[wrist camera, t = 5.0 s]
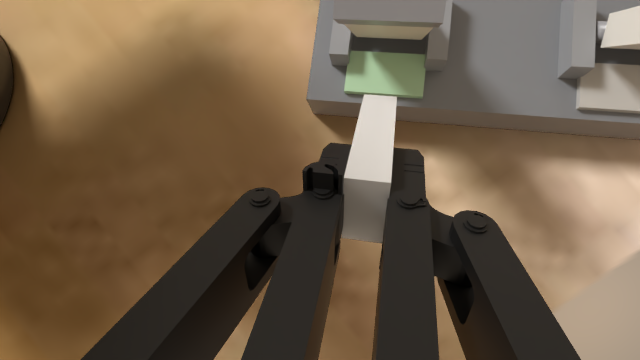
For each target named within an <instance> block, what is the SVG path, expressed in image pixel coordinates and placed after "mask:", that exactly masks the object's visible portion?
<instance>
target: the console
mask: <svg viewBox="0 0 640 360" xmlns="http://www.w3.org/2000/svg"><path fill="white" fill-rule="evenodd" d="M333 5H334V0H320V6H319V13H318V20H317V27H316V34H315V42H314V49H313V56H312V63H311V70H310V78H309V85H308V92H307V101H308V103H309V105H310V107H311V109H312V111H313V113H314V114H323V115H336V116H348V117H359V113H360V109H361V105H362V101H363V96H364V94H366V95H380V96H395V97H397V104H396V119H395V120H399V121H411V122H424V123H436V124H449V125H462V126H474V127H487V128H499V129H512V130H525V131H537V132H550V133H562V134H575V135H587V136H600V137H613V138H625V139H638V140H640V50H639V49H617V48H600V47H601V43H595V40H596V21H608V17H609V14H610V13H614V12H618V11H621V10H625V9H629V8H633V7H637V6H640V0H446V7H445V13H444V20H443V24H441V25H440V26H439V27H438V28H434V27H433V28H432V30H431V31H430V32H429V33H428V34H427V35H426V36H425V37H424V38H423V39H422V40H413V39H390V38H368V37H356V36H355V35H354V34H353V33H352V32H351V31H350V30H349V29H348V28H347V27H346V26H345V25H344V24H338V23H337V22H336V21H334V20H333Z"/></svg>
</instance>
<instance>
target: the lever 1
mask: <svg viewBox="0 0 640 360" xmlns="http://www.w3.org/2000/svg"><path fill="white" fill-rule="evenodd" d="M445 7H446V0H334V5H333V20H334V21H336V22H337V23H338V24H344V25H345V26H346V27H347V28H348V29H349V30H350V31H351V32H352V33H353V34H354V35H355V36H356V37H368V38H390V39H413V40H422V39H423V38H424V37H425V36H426V35H427V34H428V33H429V32H430V31H431V30H432V28H433V27H434V28H438V27H439V26H440V25H441V24H443V20H444V13H445Z"/></svg>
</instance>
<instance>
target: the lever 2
mask: <svg viewBox="0 0 640 360" xmlns="http://www.w3.org/2000/svg"><path fill="white" fill-rule="evenodd" d="M595 43H601V47H600V48H617V49H639V50H640V6H637V7H633V8H629V9H625V10H621V11H618V12H614V13H610V14H609V17H608V21H596V40H595Z"/></svg>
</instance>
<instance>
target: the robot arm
mask: <svg viewBox="0 0 640 360" xmlns="http://www.w3.org/2000/svg"><path fill="white" fill-rule="evenodd" d="M12 87H13V69H12V62H11V58H10V54H9V52H8V49H7V47H6V45H5V43H4V41H3V40H2V38H1V37H0V125H1V123H2V121H3V119H4V117H5V114H6V112H7V109H8V106H9V103H10V99H11V94H12ZM396 104H397V97H395V96H380V95H366V94H364V96H363V101H362V105H361V109H360V113H359V117H358V121H357V125H356V129H355V133H354V138H353V142H352V145H348V144H338V143H330V144H329V145H327V146H326V147H325V148H324V149H323V151H322V154H321V158H320V160H319V162H316V163H311V164H310V165H308V166H306V167H305V168H304V170H303V193H302V194H299V195H296V196H292V197H284V198H280V197H279V194H278V193H277V192H276V191H275V190H272V189H270V188H255V189H252V190H250V191H248V192H246V193H245V194H244V195H243V196H242V197H241V198H240V199H239V200H238V201H237V202H236V203H235V204H234V205H233V206H232V207H231V208H230V209H229V210H228V211H227V212H226V213H225V214H224V215H223V216H222V217H221V218H220V219H219V220H218V221H217V222H216V223H215V224H214V225H213V226H212V227H211V228H210V229H209V230H208V231H207V232H206V233H205V234H204V235H203V236H202V237H201V238H200V239H199V240H198V241H197V242H196V243H195V244H194V245H193V246H192V247H191V248H190V249H189V250H188V251H187V252H186V253H185V254H184V255H183V256H182V257H181V258H180V259H179V260H178V261H177V262H176V263H175V264H174V265H173V266H172V268H171V269H170V270H169V271H168V272H167V273H166V274H165V275H164V276H163V277H162V278H161V279H160V280H159V281H158V282H157V283H156V284H155V285H154V286H153V287H152V288H151V289H150V290H149V291H148V292H147V293H146V294H145V295H144V296H143V297H142V298H141V299H140V300H139V301H138V302H137V303H136V304H135V305H134V306H133V307H132V308H131V309H130V310H129V311H128V312H127V313H126V314H125V315H124V316H123V317H122V318H121V319H120V320H119V321H118V322H117V323H116V324H115V325H114V326H113V327H112V328H111V329H110V330H109V331H108V332H107V333H106V334H105V335H104V336H103V337H102V338H101V339H100V340H99V341H98V342H97V343H96V344H95V346H94V347H93V348H92V349H91V350H90V351H89V352H88V353H87V354H86V355H85V356H84V357H83V358H82V359H81V360H213V359H214V358H215V357H216V355H217V354H218V352H219V351H220V349H221V348H222V347H223V345H224V344H225V342H226V341H227V339H228V338H229V336H230V335H231V334H232V332H233V331H234V329H235V328H236V326H237V325H238V324H239V322H240V321H241V319H242V318H243V316H244V315H245V313H246V312H247V311H248V309H249V308H250V306H251V305H252V303H253V302H254V301H255V299H256V298H257V296H258V295H259V293H260V292H261V290H262V289H263V288H264V286H265V285H266V283H267V282H268V280H269V279H270V278H271V280H270V283H269V285H268V288H267V291H266V294H265V296H264V299H263V302H262V304H261V307H260V310H259V313H258V315H257V318H256V321H255V323H254V326H253V329H252V332H251V334H250V337H249V340H248V342H247V345H246V348H245V351H244V353H243V356H242V359H241V360H318V357H319V352H320V347H321V342H322V337H323V332H324V327H325V322H326V317H327V312H328V307H329V302H330V297H331V292H332V287H333V282H334V277H335V272H336V267H337V262H338V257H339V252H340V239H341V234H342V238H346V239H354V240H361V241H368V242H376V243H382V251H381V258H380V266H379V269H380V272H379V283H378V295H377V306H376V318H375V329H374V341H373V352H372V360H439V351H438V335H437V318H436V302H435V285H434V276H436V277H437V279H438V284H439V286H440V289H441V292H442V294H443V297H444V300H445V303H446V305H447V308H448V311H449V314H450V316H451V319H452V322H453V325H454V327H455V330H456V333H457V335H458V338H459V341H460V344H461V346H462V349H463V352H464V355H465V357H466V360H581V359H580V357H579V356H578V354H577V353H576V351H575V349H574V348H573V346H572V344H571V343H570V341H569V340H568V338H567V336H566V335H565V333H564V331H563V330H562V328H561V327H560V325H559V323H558V322H557V320H556V318H555V317H554V315H553V314H552V312H551V310H550V309H549V307H548V306H547V304H546V302H545V301H544V299H543V297H542V296H541V294H540V293H539V291H538V289H537V288H536V286H535V285H534V283H533V281H532V280H531V278H530V276H529V275H528V273H527V272H526V270H525V268H524V267H523V265H522V264H521V262H520V260H519V259H518V257H517V255H516V254H515V252H514V251H513V249H512V247H511V246H510V244H509V242H508V241H507V239H506V238H505V236H504V234H503V233H502V231H501V230H500V228H499V226H498V225H497V223H496V222H495V221H494V220H493V219H492V218H490V217H489V216H487V215H485V214H483V213H480V212H477V211H469V210H467V211H461V212H459V213H457V214H456V215H455V216H454V217H451V216H448V215H445V214H443V213H440V212H438V211H437V210H435V209H434V208H432V207H431V206H430V205H429V202H428V200H427V199H426V191H425V174H424V157H423V156H422V155H421V153H420V152H419V151H418V150H412V149H401V148H394V133H395V119H396ZM271 276H272V277H271Z"/></svg>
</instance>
